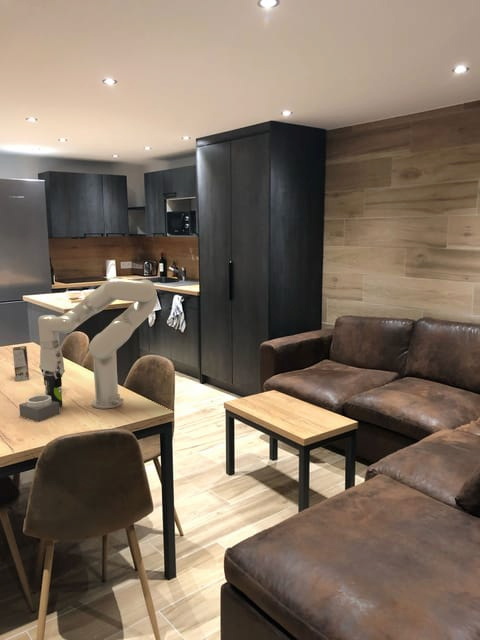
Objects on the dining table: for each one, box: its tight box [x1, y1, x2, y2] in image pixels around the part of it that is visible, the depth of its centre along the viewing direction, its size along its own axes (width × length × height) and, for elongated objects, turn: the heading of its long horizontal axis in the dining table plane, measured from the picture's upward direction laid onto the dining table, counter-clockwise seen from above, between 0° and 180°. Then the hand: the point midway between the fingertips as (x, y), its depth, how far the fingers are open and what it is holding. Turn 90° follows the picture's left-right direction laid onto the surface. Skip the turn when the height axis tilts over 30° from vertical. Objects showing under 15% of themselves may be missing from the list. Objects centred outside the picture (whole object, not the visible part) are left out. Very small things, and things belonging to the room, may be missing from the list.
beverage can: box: [44, 372, 63, 409], centre depth 213 cm, size 6×6×15 cm
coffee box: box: [12, 345, 30, 382], centre depth 257 cm, size 9×6×16 cm
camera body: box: [18, 394, 61, 423], centre depth 204 cm, size 12×10×7 cm
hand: (53, 385), depth 212 cm, fingers closed on beverage can, 6 cm apart
